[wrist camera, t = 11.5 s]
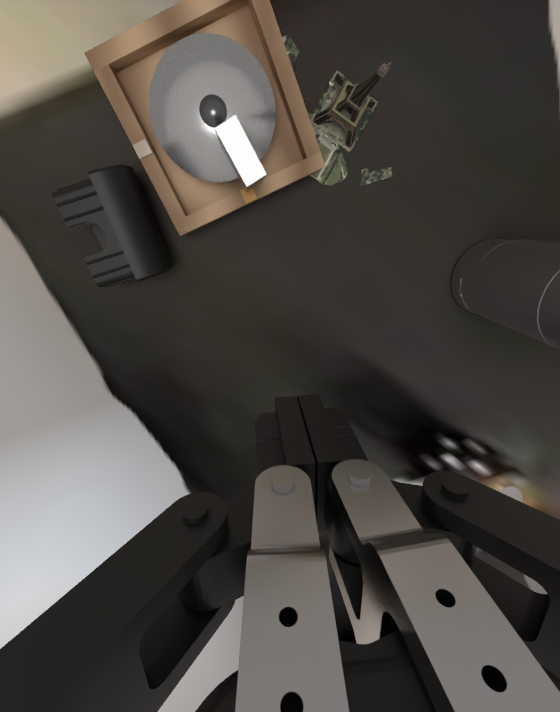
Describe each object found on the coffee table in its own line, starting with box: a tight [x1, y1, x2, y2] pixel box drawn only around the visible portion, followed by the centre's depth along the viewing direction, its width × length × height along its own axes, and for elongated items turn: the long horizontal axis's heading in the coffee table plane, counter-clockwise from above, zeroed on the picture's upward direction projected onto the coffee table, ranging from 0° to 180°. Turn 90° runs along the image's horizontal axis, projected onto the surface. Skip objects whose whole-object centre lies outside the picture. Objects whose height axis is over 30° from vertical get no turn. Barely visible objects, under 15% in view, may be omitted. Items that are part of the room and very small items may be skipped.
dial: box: [149, 33, 276, 192], centre depth 29 cm, size 13×11×9 cm
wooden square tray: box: [85, 0, 325, 236], centre depth 34 cm, size 16×16×4 cm
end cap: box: [52, 165, 172, 288], centre depth 36 cm, size 10×7×7 cm
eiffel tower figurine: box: [282, 35, 392, 186], centre depth 31 cm, size 15×10×13 cm
